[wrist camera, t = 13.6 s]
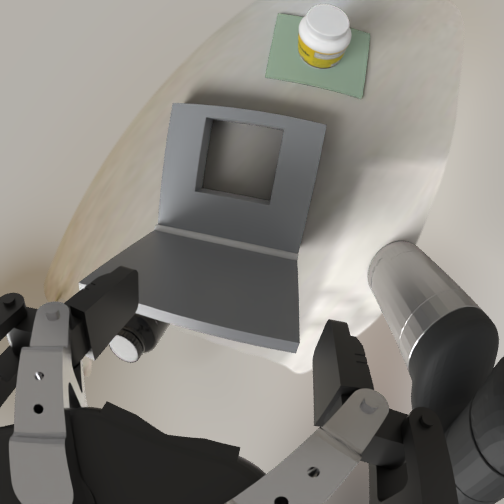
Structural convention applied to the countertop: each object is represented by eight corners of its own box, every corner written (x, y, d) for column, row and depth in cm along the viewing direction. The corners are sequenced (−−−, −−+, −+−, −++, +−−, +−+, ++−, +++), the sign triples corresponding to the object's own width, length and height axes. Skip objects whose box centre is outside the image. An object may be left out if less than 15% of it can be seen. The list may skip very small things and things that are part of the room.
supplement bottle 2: (295, 34, 25) (296, -4, 16) (338, 36, 24) (353, 0, 15) (298, 70, 27) (301, 40, 18) (343, 72, 26) (361, 44, 17)
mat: (369, 35, 24) (370, 34, 24) (361, 98, 28) (362, 98, 27) (278, 14, 25) (278, 13, 24) (265, 77, 28) (265, 76, 28)
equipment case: (323, 127, 30) (363, 97, 12) (294, 256, 36) (295, 353, 18) (182, 106, 31) (85, 77, 13) (166, 228, 37) (80, 292, 20)
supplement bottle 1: (166, 328, 44) (136, 376, 33) (134, 304, 43) (96, 346, 32) (184, 303, 41) (152, 352, 30) (149, 277, 40) (107, 318, 29)
